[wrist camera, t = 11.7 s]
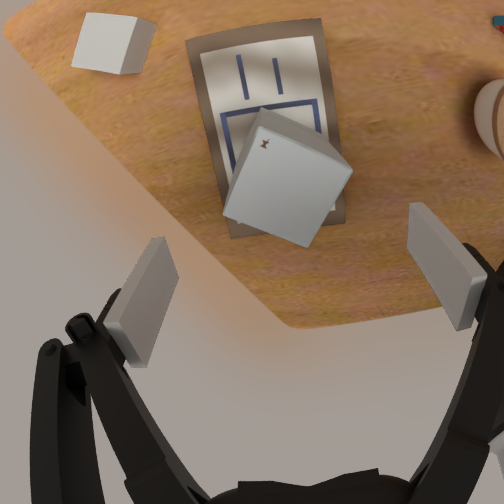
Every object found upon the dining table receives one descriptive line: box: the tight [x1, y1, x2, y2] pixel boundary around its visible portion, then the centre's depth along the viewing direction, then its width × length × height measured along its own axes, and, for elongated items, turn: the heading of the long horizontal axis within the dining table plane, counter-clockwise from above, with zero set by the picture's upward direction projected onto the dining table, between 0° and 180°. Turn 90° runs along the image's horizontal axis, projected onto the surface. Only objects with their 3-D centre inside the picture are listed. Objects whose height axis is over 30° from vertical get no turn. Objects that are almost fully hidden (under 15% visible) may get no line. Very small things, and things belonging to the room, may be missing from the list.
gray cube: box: [71, 13, 158, 74], centre depth 25 cm, size 6×6×6 cm
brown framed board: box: [186, 18, 346, 239], centre depth 32 cm, size 24×14×1 cm, turn 10°
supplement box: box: [223, 107, 353, 248], centre depth 27 cm, size 7×7×13 cm
